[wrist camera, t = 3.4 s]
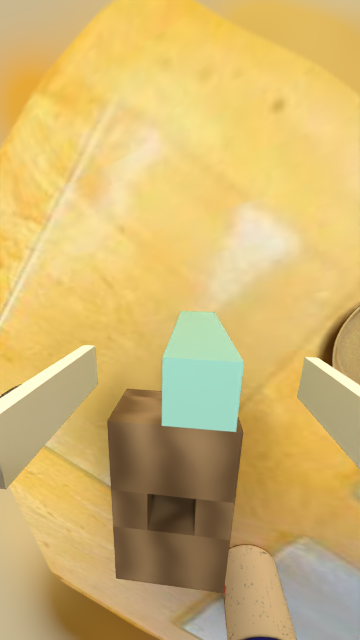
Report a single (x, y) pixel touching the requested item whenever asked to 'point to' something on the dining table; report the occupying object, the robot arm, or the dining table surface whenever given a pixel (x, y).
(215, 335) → the peg
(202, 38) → the dining table surface
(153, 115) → the dining table surface
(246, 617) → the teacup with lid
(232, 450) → the hole board
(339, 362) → the plant saucer
